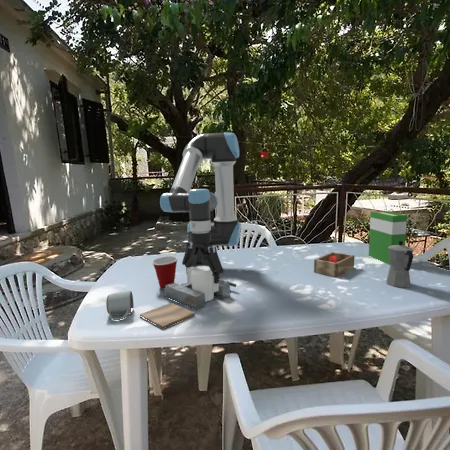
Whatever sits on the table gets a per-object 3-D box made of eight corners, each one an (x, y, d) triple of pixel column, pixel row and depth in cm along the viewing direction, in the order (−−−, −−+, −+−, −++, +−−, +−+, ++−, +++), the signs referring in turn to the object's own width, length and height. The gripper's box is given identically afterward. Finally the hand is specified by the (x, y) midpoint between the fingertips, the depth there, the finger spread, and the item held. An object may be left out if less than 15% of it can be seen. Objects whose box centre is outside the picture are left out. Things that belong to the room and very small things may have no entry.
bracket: (344, 274, 151) (345, 257, 150) (335, 275, 150) (335, 258, 149) (332, 267, 163) (332, 251, 161) (323, 267, 162) (323, 251, 161)
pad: (140, 317, 112) (139, 314, 112) (171, 305, 121) (171, 302, 121) (162, 329, 103) (162, 326, 103) (194, 315, 112) (194, 312, 112)
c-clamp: (165, 297, 129) (164, 285, 128) (207, 282, 145) (207, 271, 144) (196, 310, 116) (196, 296, 115) (239, 292, 132) (239, 280, 131)
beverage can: (197, 305, 121) (196, 273, 119) (189, 297, 128) (187, 267, 126) (217, 300, 124) (216, 269, 122) (208, 293, 131) (207, 264, 129)
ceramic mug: (110, 310, 118) (108, 289, 117) (134, 307, 120) (132, 287, 118) (105, 324, 108) (102, 301, 107) (131, 321, 109) (129, 299, 108)
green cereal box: (368, 255, 179) (370, 211, 175) (381, 255, 180) (383, 210, 176) (390, 265, 162) (393, 216, 158) (403, 263, 163) (407, 215, 159)
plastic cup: (150, 284, 143) (149, 257, 141) (175, 280, 147) (174, 254, 145) (156, 293, 133) (154, 264, 131) (182, 288, 138) (180, 260, 136)
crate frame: (314, 272, 154) (314, 259, 153) (332, 263, 167) (332, 251, 166) (336, 277, 146) (337, 263, 145) (353, 267, 159) (354, 255, 158)
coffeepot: (379, 278, 143) (381, 237, 140) (401, 278, 143) (404, 237, 140) (397, 291, 128) (400, 246, 125) (422, 291, 128) (425, 245, 125)
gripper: (171, 229, 128) (174, 282, 131) (217, 237, 110) (218, 298, 114) (186, 226, 133) (188, 278, 136) (232, 233, 116) (233, 292, 119)
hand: (202, 287), depth 125 cm, fingers open, 13 cm apart
